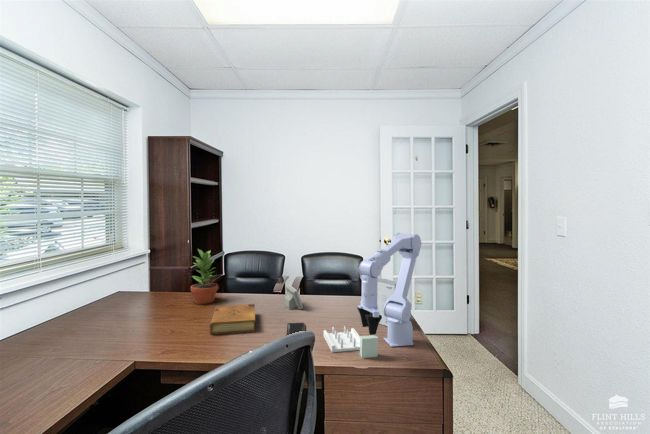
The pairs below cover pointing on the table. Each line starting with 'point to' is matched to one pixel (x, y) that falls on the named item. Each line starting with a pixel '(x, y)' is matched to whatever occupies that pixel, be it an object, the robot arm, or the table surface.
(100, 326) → the table surface
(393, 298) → the robot arm
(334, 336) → the dish rack
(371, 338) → the block
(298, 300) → the grey angular sculpture
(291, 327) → the phone
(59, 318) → the table surface
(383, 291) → the hard drive box
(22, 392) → the table surface
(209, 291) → the potted plant
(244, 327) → the diary
